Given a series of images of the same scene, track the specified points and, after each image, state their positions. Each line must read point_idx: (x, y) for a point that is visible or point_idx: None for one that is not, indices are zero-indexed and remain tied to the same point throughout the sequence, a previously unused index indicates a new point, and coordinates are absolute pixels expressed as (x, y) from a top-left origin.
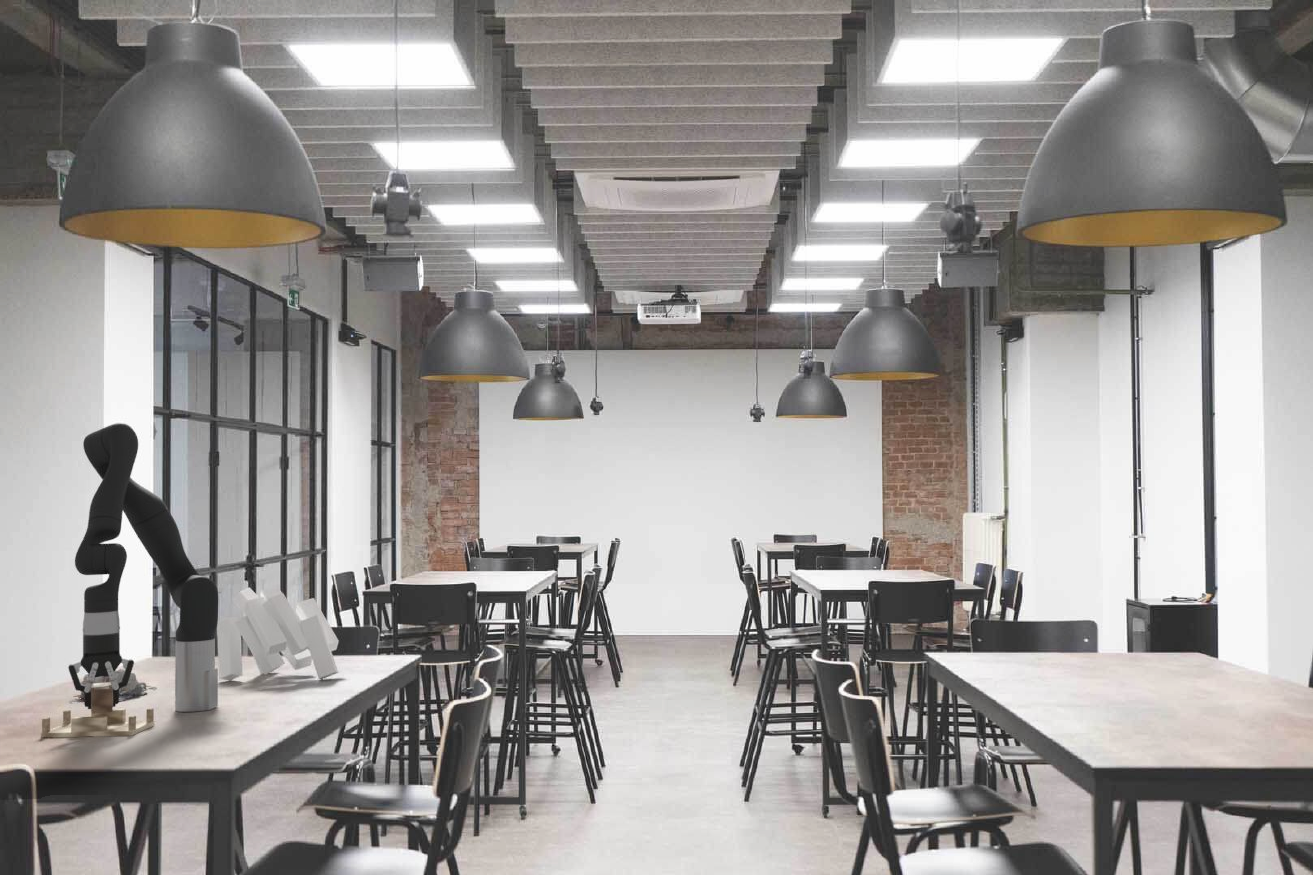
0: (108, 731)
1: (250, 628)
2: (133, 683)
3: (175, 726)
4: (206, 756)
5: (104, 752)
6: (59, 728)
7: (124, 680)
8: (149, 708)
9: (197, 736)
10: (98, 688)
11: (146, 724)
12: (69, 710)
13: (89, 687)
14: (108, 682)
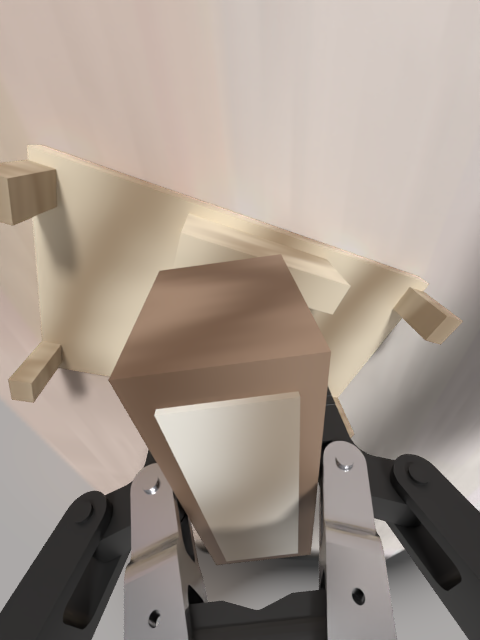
0: None
1: None
2: None
3: (462, 325)
4: (387, 529)
5: None
6: (70, 300)
7: (410, 537)
8: (446, 320)
9: (438, 444)
10: (244, 552)
11: (382, 341)
12: (5, 190)
13: (182, 529)
14: (307, 363)
